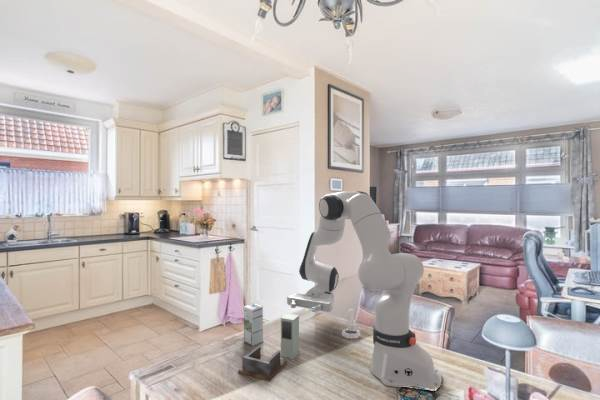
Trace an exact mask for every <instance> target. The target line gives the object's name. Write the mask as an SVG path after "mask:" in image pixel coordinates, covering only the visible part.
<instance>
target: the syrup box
mask: <svg viewBox="0 0 600 400" xmlns="http://www.w3.org/2000/svg"><path fill="white" fill-rule="evenodd" d="M263 307H264V306H262V305H260V304H257V303H249V304H247V305H244V306H243V341H244V342H245V343H246V344H248V345H250V346H251V347H253V346H256V345H258V344H261V343H263V342H264V323H263V322H264V308H263Z"/></svg>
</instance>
